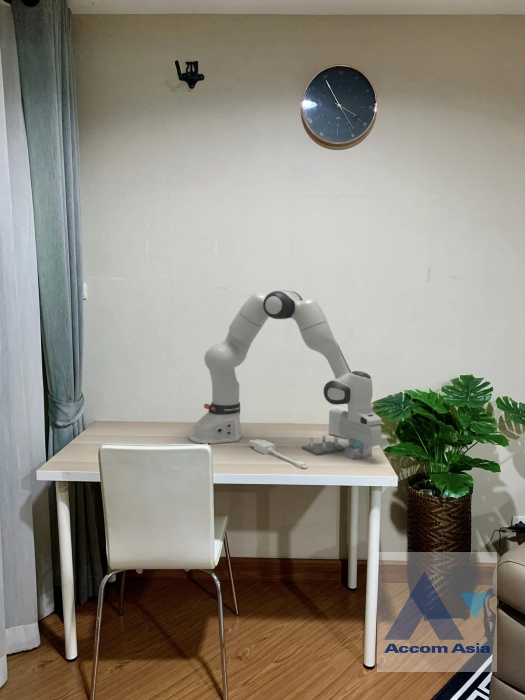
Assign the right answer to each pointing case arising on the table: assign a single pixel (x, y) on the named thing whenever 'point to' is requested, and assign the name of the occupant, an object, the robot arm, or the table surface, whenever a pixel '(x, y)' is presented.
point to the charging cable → (272, 450)
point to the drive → (357, 451)
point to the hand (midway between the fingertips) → (358, 451)
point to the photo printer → (335, 420)
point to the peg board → (323, 447)
